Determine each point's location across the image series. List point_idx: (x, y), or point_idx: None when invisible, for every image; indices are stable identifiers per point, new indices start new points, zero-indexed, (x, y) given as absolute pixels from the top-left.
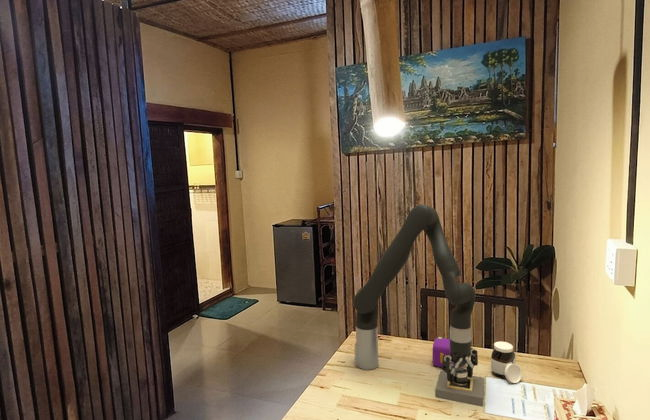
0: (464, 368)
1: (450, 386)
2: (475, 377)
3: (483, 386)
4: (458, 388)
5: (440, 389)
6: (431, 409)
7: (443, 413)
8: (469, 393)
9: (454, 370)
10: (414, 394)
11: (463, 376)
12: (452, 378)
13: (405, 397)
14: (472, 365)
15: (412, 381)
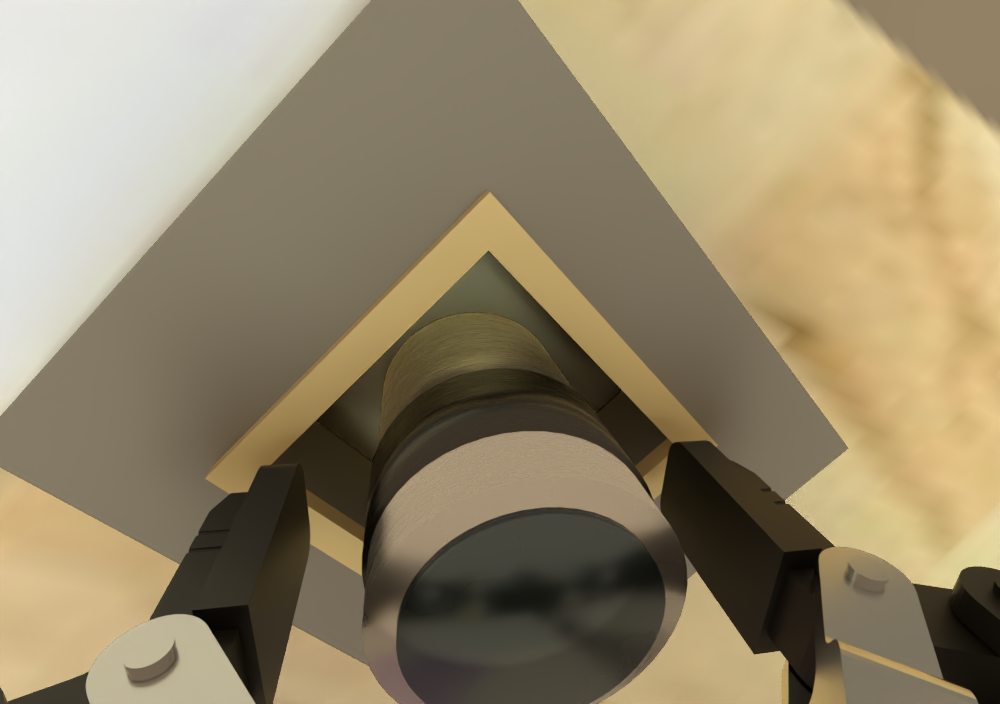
0: (370, 661)
1: (688, 418)
2: (136, 498)
3: (168, 232)
4: (625, 340)
5: (808, 422)
6: (972, 243)
7: (949, 121)
8: (559, 169)
9: (649, 643)
10: (885, 498)
11: (564, 447)
12: (742, 483)
13: (972, 486)
14: (140, 701)
15: (746, 654)
